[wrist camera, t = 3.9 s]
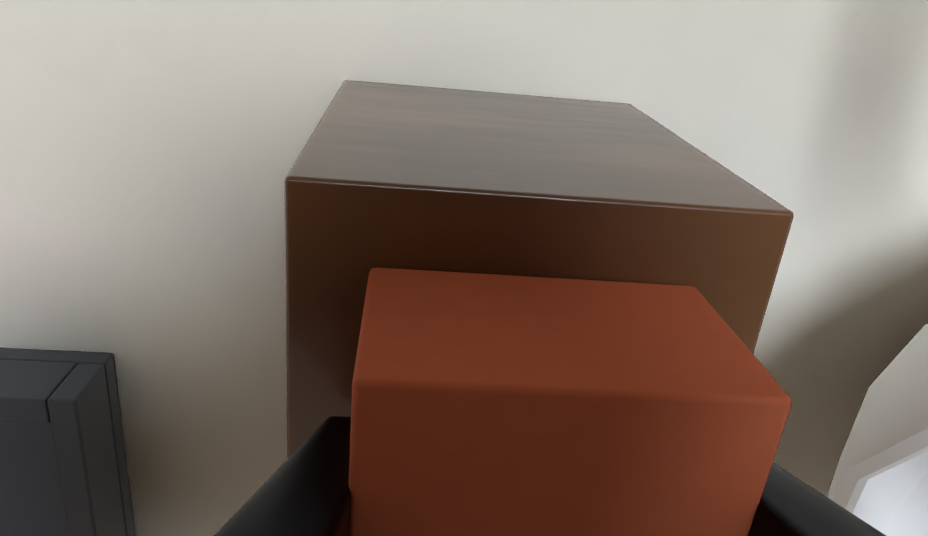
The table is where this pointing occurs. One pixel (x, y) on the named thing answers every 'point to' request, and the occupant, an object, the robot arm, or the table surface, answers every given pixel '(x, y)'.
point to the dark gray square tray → (61, 446)
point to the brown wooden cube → (503, 214)
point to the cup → (890, 448)
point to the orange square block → (554, 410)
